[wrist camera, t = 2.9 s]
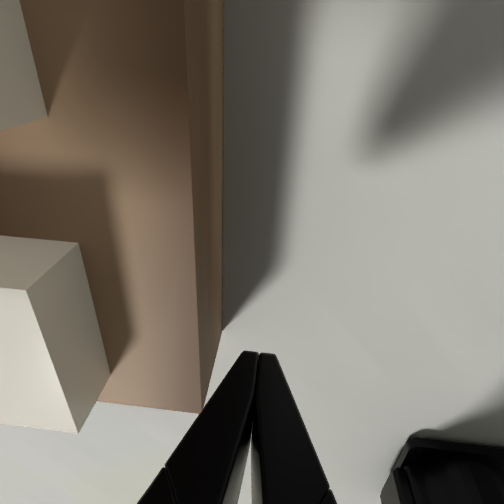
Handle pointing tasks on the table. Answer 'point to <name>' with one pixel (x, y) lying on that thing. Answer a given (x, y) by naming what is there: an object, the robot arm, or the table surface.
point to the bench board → (130, 181)
